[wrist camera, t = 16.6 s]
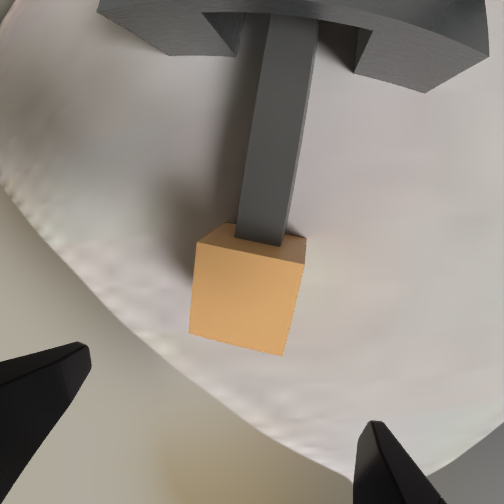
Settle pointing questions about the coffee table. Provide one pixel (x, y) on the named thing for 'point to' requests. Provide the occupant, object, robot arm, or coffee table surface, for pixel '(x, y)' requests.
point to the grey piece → (329, 9)
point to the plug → (261, 208)
